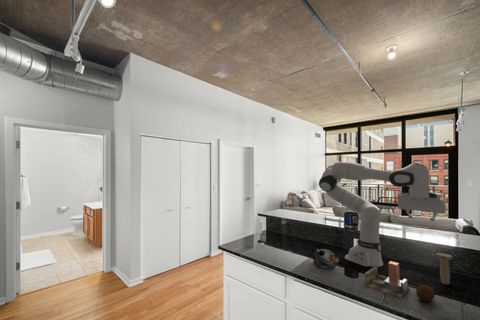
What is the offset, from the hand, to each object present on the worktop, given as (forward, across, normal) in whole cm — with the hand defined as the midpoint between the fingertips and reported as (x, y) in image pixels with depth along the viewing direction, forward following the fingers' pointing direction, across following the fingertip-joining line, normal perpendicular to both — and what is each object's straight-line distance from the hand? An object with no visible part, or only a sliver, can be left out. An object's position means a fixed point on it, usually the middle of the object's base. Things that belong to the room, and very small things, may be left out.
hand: (421, 219), depth 122 cm
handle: (+34, +7, +10) cm, 36 cm away
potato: (+34, +4, -18) cm, 39 cm away
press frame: (+34, -12, -18) cm, 40 cm away
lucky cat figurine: (+34, -46, -17) cm, 60 cm away
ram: (+33, -8, -18) cm, 38 cm away
